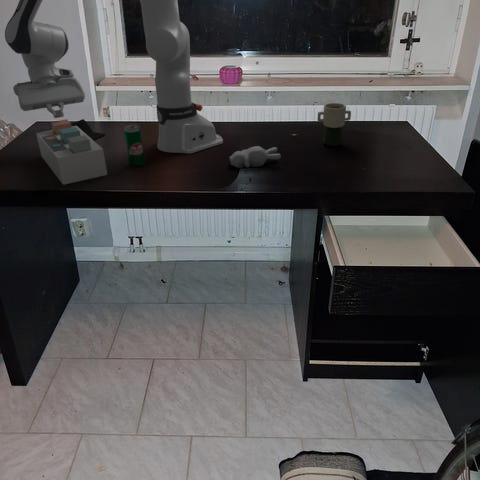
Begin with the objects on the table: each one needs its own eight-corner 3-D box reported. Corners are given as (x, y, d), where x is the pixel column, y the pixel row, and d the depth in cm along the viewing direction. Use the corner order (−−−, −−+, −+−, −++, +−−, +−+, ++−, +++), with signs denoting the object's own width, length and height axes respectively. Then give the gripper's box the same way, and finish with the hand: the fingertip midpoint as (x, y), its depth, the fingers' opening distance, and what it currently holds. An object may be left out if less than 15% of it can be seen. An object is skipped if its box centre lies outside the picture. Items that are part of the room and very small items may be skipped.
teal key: (77, 140, 155) (75, 126, 152) (82, 145, 151) (79, 130, 149) (61, 144, 152) (58, 129, 150) (65, 148, 149) (62, 133, 146)
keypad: (81, 148, 168) (76, 124, 164) (107, 174, 147) (102, 147, 143) (41, 156, 162) (35, 131, 158) (63, 184, 141) (57, 156, 137)
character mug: (345, 140, 168) (348, 102, 162) (351, 147, 162) (354, 107, 156) (314, 141, 168) (316, 103, 161) (318, 148, 162) (320, 109, 155)
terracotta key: (69, 132, 162) (66, 119, 160) (73, 136, 158) (70, 123, 156) (54, 135, 160) (51, 122, 158) (57, 139, 156) (54, 125, 154)
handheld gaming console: (90, 140, 170) (71, 116, 169) (77, 152, 173) (59, 128, 172) (107, 135, 180) (90, 112, 179) (95, 146, 184) (78, 123, 182)
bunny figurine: (227, 148, 153) (275, 139, 153) (230, 163, 155) (276, 155, 156) (230, 159, 145) (280, 150, 145) (233, 175, 147) (282, 166, 148)
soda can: (131, 168, 151) (126, 130, 145) (126, 163, 155) (121, 125, 149) (147, 165, 153) (142, 127, 147) (142, 160, 157) (137, 123, 151)
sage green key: (87, 149, 147) (84, 135, 145) (92, 154, 143) (89, 139, 141) (70, 153, 145) (67, 138, 143) (74, 158, 141) (71, 142, 139)
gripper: (10, 78, 152) (24, 116, 150) (77, 69, 161) (91, 106, 159) (12, 90, 158) (25, 127, 155) (76, 81, 167) (89, 116, 164)
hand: (59, 116), depth 157 cm, fingers closed
